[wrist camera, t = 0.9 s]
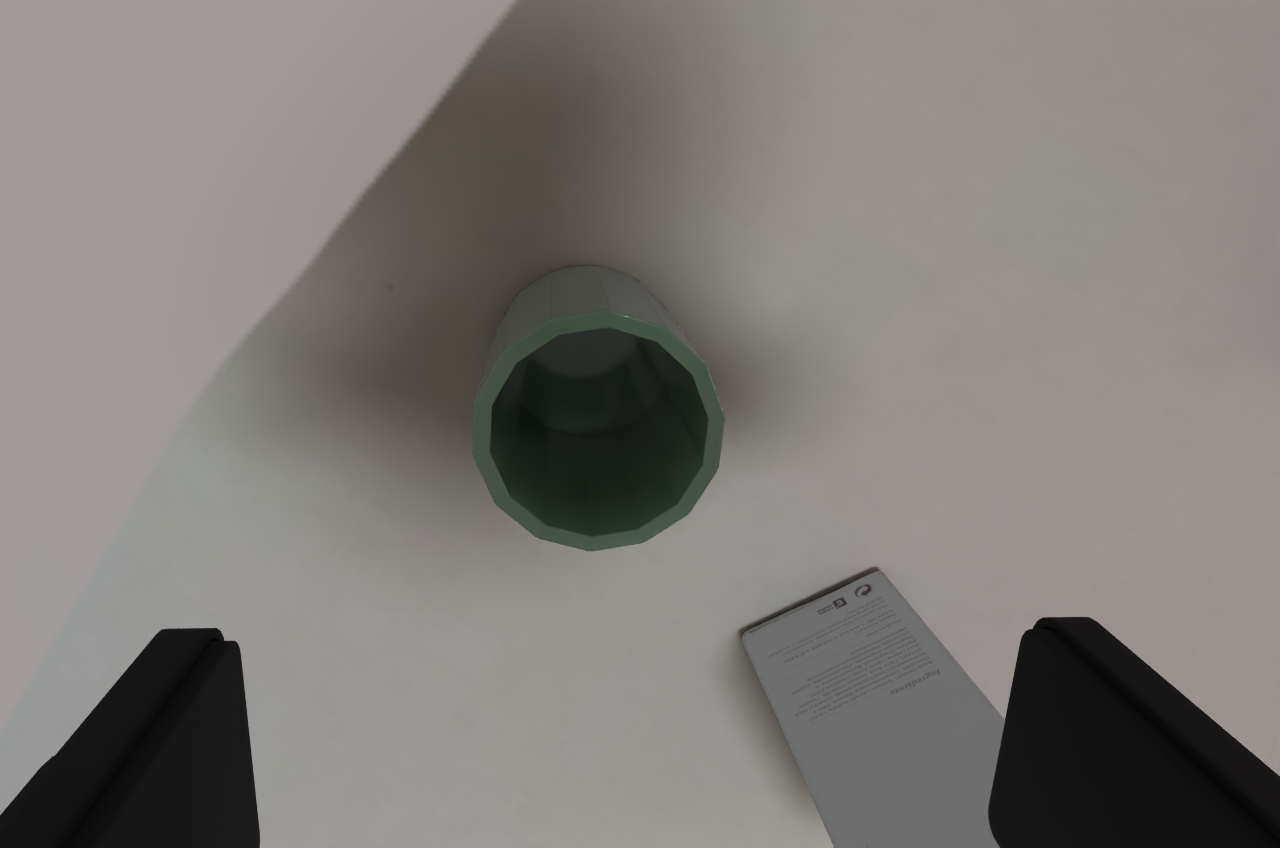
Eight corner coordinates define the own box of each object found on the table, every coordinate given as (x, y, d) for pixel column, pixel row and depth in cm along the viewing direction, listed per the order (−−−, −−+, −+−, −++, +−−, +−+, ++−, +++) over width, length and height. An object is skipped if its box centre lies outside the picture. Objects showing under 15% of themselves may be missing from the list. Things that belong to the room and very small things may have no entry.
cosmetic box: (736, 630, 31) (889, 1031, 17) (887, 559, 31) (1170, 906, 17) (819, 793, 34) (1012, 1255, 20) (959, 729, 33) (1256, 1152, 19)
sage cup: (477, 279, 26) (447, 333, 19) (666, 252, 27) (712, 294, 19) (510, 454, 28) (495, 567, 21) (687, 427, 28) (736, 528, 21)
